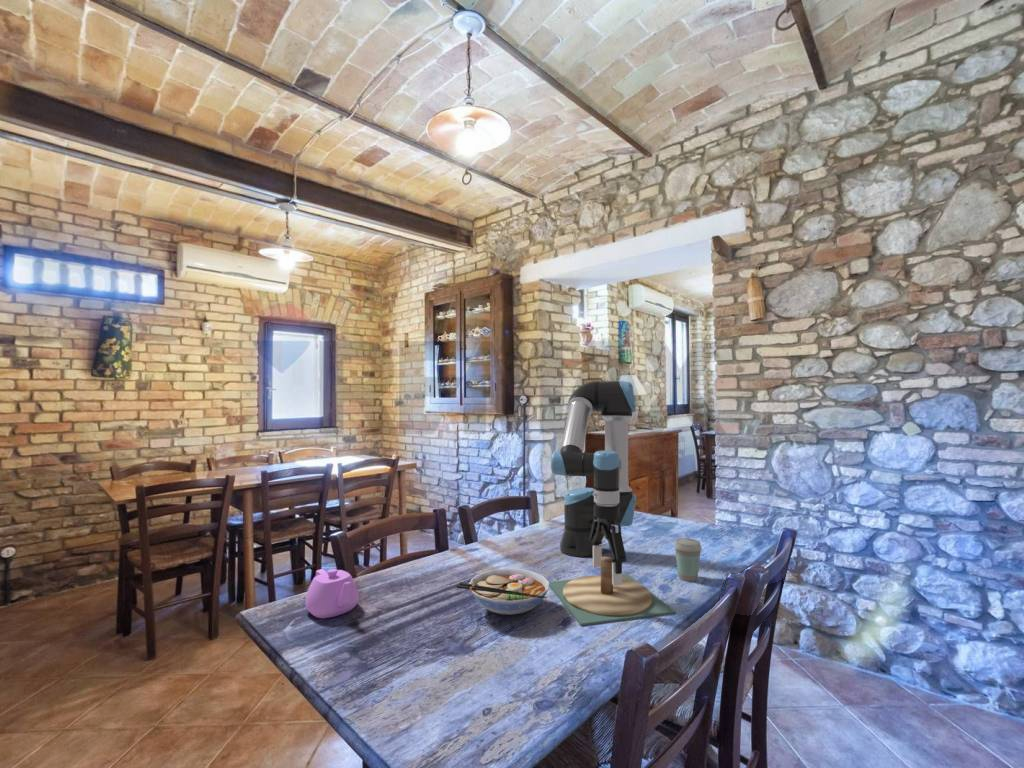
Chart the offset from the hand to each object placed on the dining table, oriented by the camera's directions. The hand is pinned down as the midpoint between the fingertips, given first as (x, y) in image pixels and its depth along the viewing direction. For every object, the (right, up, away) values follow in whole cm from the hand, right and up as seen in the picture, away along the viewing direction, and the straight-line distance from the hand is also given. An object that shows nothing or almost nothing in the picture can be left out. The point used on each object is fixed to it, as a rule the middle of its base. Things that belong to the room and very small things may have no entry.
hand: (606, 575), depth 145 cm
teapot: (-79, -7, -7) cm, 79 cm away
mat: (0, -7, 0) cm, 7 cm away
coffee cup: (+29, -7, +15) cm, 33 cm away
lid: (0, -6, 0) cm, 6 cm away
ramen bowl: (-29, -7, -7) cm, 31 cm away
